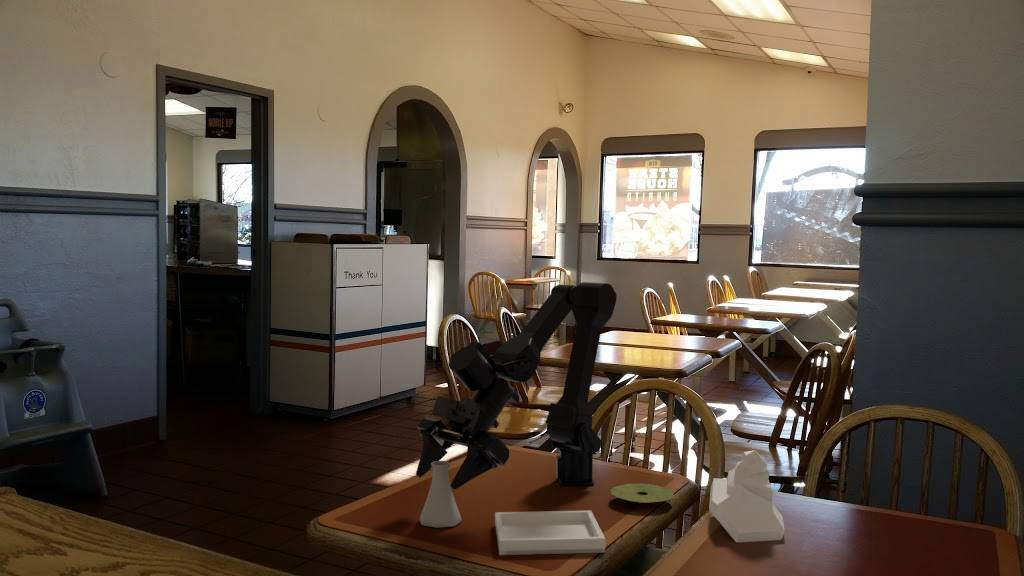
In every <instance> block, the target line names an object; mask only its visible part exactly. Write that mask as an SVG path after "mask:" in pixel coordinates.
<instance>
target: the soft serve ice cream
mask: <svg viewBox="0 0 1024 576" xmlns="http://www.w3.org/2000/svg"><path fill="white" fill-rule="evenodd" d="M769 478H770V472H769V470H768V464H767V462H766V461H765V460H764V458H763V457H762V456H761V455H760V454H759V452H758V451H757V450H756V449H754V450H748V451H743V454H742V459H741V460H740V461H738V462H737V463H736V465H735V467H734V468H732V469H730V470H729V471H728V473H727V478H717V477H716V478H713V479H712V483H711V485H710V493H709V494H710V495H709V507H708V508H709V509H708V511H710V513H711V514H712V515H713V517H715V519H716V520H717V521H718V523H719V524H720V525H721V526H722V527H723V528H724V529H725V531H726V532H727V534H728V535H729V536H730V537H731V538H732V539H733V541H734V542H735V543H749V542H752V543H753V542H767V541H770V542H771V541H781V540H783V537H784V534H785V524H784V518H783V515H782V514H781V513H780V511H779V510H778V509H777V508H776V506H775V505H774V504H773V494H774V493H773V492H774V491H773V489H772V486H771V483H770V480H769Z"/></svg>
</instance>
